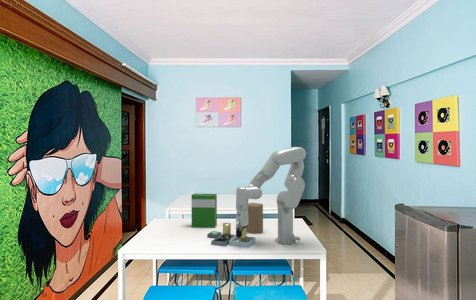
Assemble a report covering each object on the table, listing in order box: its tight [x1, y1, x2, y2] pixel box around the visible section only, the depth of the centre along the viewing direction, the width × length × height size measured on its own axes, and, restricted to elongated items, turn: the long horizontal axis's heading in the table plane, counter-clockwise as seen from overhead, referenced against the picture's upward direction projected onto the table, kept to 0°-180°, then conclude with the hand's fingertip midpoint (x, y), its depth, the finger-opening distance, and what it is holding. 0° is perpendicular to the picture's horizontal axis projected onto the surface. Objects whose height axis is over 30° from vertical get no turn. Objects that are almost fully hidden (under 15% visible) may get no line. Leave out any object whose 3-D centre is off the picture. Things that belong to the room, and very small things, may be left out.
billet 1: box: [222, 222, 232, 238], centre depth 196 cm, size 5×5×10 cm
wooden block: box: [247, 202, 264, 235], centre depth 215 cm, size 10×10×20 cm
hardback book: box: [191, 193, 218, 229], centre depth 232 cm, size 18×7×24 cm, turn 85°
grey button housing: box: [206, 231, 223, 239], centre depth 203 cm, size 7×7×3 cm
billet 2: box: [238, 227, 248, 243], centre depth 189 cm, size 5×5×10 cm
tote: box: [228, 235, 257, 248], centre depth 189 cm, size 13×13×4 cm
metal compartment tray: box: [210, 233, 236, 247], centre depth 193 cm, size 18×10×3 cm, turn 159°
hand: (241, 235), depth 189 cm, fingers open, 9 cm apart
